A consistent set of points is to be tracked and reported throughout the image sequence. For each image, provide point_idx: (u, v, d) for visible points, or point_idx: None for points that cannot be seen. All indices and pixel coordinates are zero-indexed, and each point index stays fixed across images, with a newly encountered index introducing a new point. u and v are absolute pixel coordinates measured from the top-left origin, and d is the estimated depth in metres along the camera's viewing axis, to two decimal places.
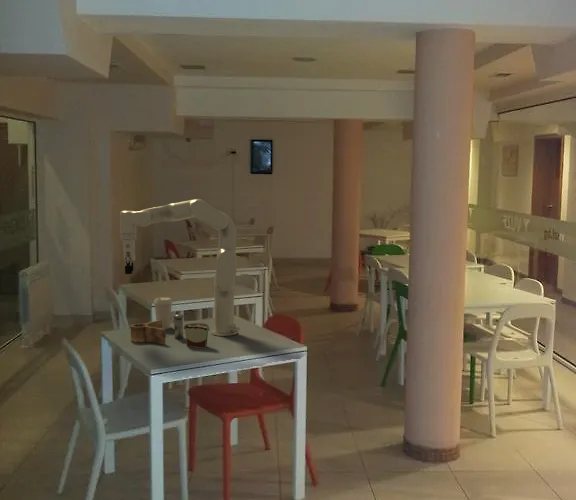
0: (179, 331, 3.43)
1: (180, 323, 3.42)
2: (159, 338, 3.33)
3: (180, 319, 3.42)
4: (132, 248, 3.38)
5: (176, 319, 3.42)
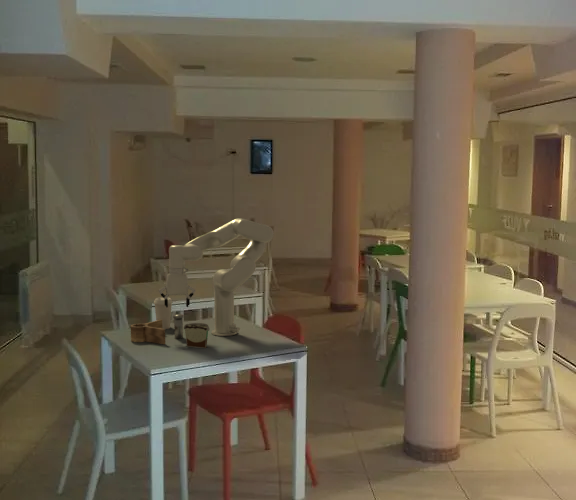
0: (179, 331, 3.43)
1: (180, 323, 3.42)
2: (159, 338, 3.33)
3: (180, 319, 3.42)
4: None
5: (176, 319, 3.42)
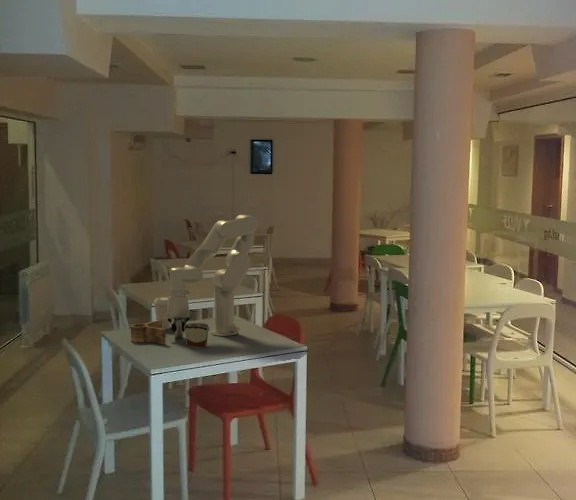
0: (179, 331, 3.43)
1: (180, 323, 3.42)
2: (159, 338, 3.33)
3: (180, 319, 3.42)
4: None
5: (176, 319, 3.42)
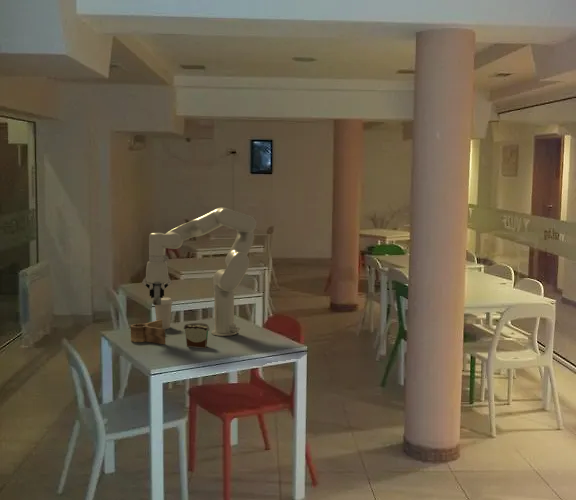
0: (157, 297, 3.38)
1: (158, 289, 3.38)
2: (159, 338, 3.33)
3: (159, 285, 3.38)
4: None
5: (154, 285, 3.38)
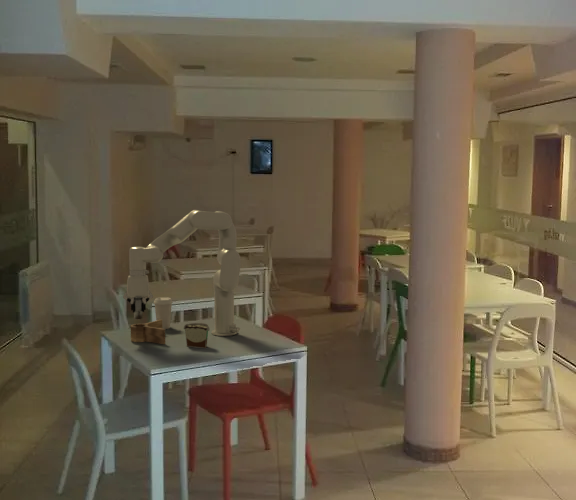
0: (139, 311, 3.37)
1: (140, 303, 3.37)
2: (159, 338, 3.33)
3: (140, 299, 3.37)
4: None
5: (136, 299, 3.36)
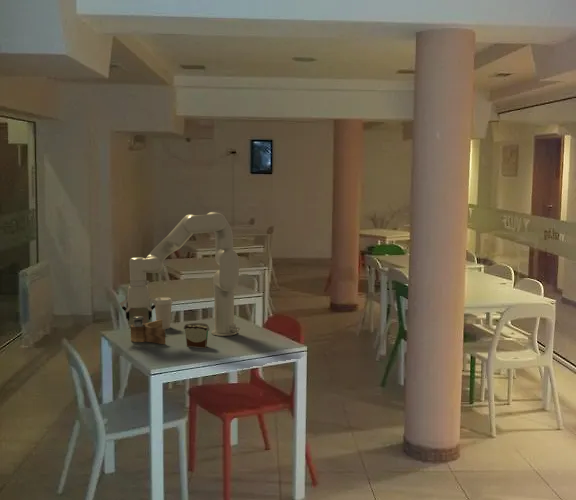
0: None
1: (140, 325, 3.38)
2: (159, 338, 3.33)
3: (140, 321, 3.38)
4: None
5: (136, 321, 3.38)
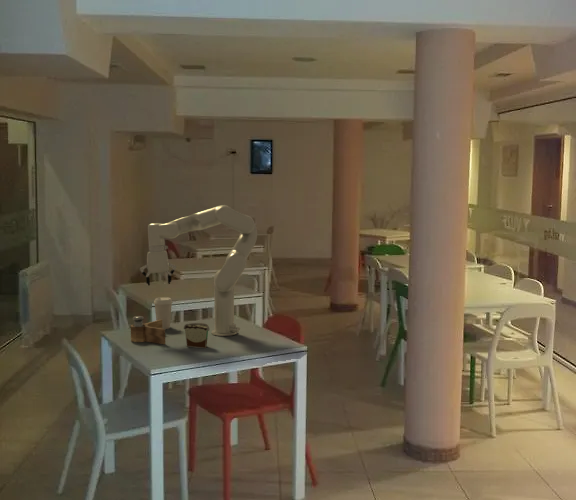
0: None
1: (140, 325, 3.38)
2: (159, 338, 3.33)
3: (140, 321, 3.38)
4: None
5: (136, 321, 3.38)
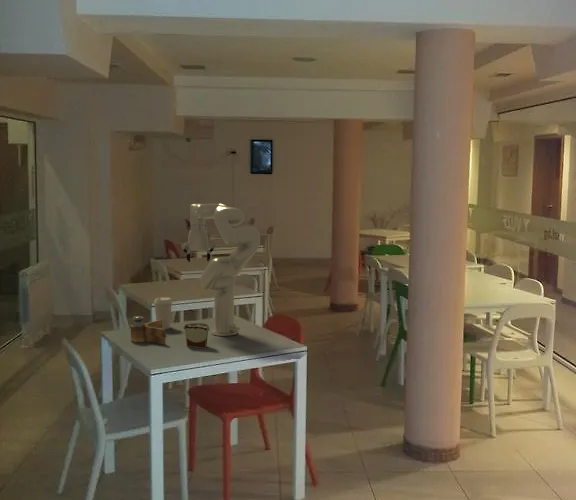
0: None
1: (140, 325, 3.38)
2: (159, 338, 3.33)
3: (140, 321, 3.38)
4: None
5: (136, 321, 3.38)
